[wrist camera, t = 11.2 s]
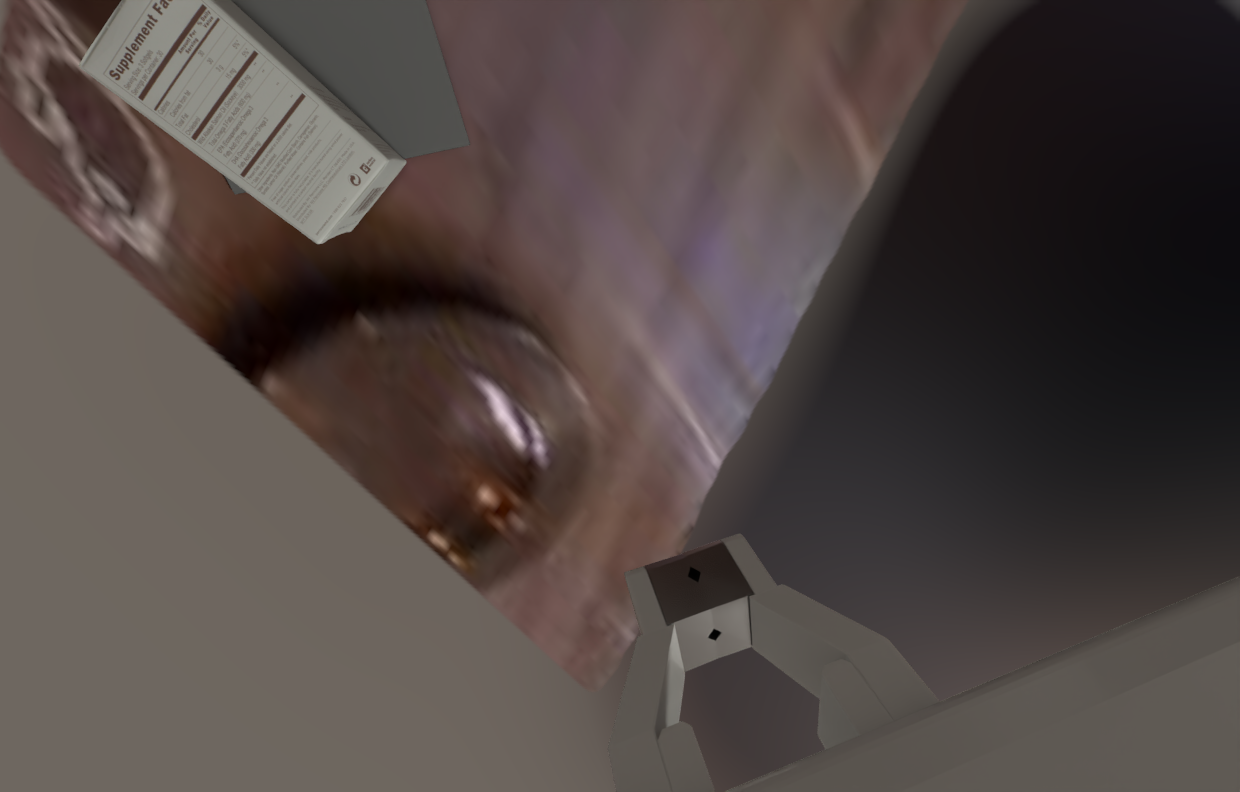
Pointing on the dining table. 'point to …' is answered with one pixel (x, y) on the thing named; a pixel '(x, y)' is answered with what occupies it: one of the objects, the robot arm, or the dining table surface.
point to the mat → (372, 65)
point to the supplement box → (245, 109)
